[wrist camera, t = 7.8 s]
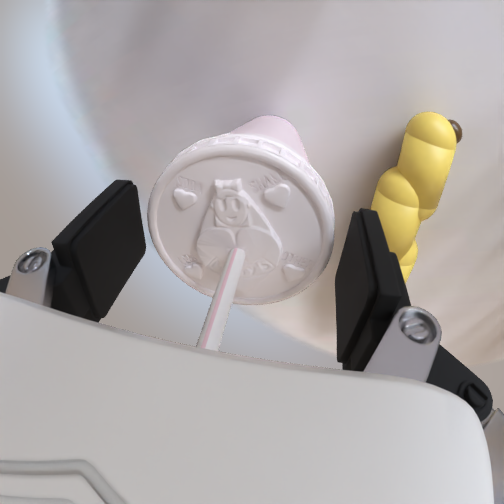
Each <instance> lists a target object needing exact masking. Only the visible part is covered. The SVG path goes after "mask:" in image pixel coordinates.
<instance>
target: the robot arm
mask: <svg viewBox="0 0 504 504" xmlns="http://www.w3.org/2000/svg"><path fill="white" fill-rule="evenodd" d="M52 245H53V248H54V250H53V251H52V252H50V251H49V250H48V249H47V248H42V247H39V248H34V249H31V250H29V251H27V252H25V253H24V254H22V255H21V256H20V257H19V258H18V259H17V260H16V262H15V264H14V267H13V270H12V273H11V275H10V276H8V277H5V278H3V279H1V280H0V504H504V414H503V413H502V412H501V410H500V409H499V408H497V409H496V410H494V409H492V403H493V400H492V396H491V392H490V390H489V388H488V387H487V386H486V384H485V383H484V382H483V381H482V380H481V379H480V378H478V377H477V376H476V375H475V374H474V373H473V372H471V371H470V370H469V369H468V368H467V367H466V366H464V365H463V364H462V363H461V362H460V361H459V360H457V359H456V358H455V357H454V356H453V355H452V354H450V353H449V352H448V351H447V350H446V349H444V348H443V347H442V346H441V345H440V344H439V343H440V340H441V335H442V331H441V327H440V325H439V323H438V321H437V319H436V318H435V317H434V316H433V315H432V314H431V313H429V312H428V311H426V310H424V309H422V308H419V307H415V306H411V304H410V300H409V296H408V292H407V289H406V285H405V281H404V278H403V274H402V271H401V268H400V264H399V261H398V258H397V255H396V253H394V252H390V251H389V247H388V244H387V241H386V237H385V234H384V231H383V228H382V225H381V222H380V218H379V215H378V212H377V211H374V210H369V209H363V208H360V209H359V212H355V211H354V212H353V214H352V218H351V222H350V225H349V229H348V233H347V237H346V241H345V244H344V248H343V252H342V255H341V259H340V262H339V266H338V269H337V273H336V277H335V295H336V324H337V361H338V362H341V363H343V370H340V369H331V368H323V367H315V366H308V365H300V364H293V363H286V362H279V361H272V360H265V359H259V358H253V357H247V356H241V355H236V354H230V353H225V352H220V351H215V350H210V349H204V348H200V347H195V346H189V345H185V344H181V343H176V342H171V341H167V340H163V339H159V338H155V337H150V336H146V335H142V334H138V333H134V332H130V331H126V330H123V329H119V328H115V327H112V326H108V325H105V324H101V323H99V321H100V319H101V318H104V317H105V316H106V315H107V313H108V311H109V309H110V308H111V306H112V305H113V303H114V301H115V300H116V298H117V296H118V295H119V293H120V292H121V290H122V288H123V287H124V285H125V284H126V282H127V280H128V279H129V277H130V276H131V274H132V273H133V271H134V269H135V268H136V266H137V265H138V263H139V262H140V260H141V259H142V257H143V256H144V254H145V251H146V243H145V237H144V231H143V225H142V218H141V212H140V205H139V198H138V190H137V187H136V185H133V182H132V181H129V180H115V181H114V182H113V183H112V184H111V185H110V186H108V187H107V188H106V189H105V190H104V191H103V192H102V193H101V194H100V195H99V196H97V197H96V198H95V199H94V200H93V201H92V202H91V203H90V204H89V205H88V206H87V207H86V208H85V209H84V210H83V211H82V212H81V213H80V214H79V215H78V216H76V217H75V219H73V221H71V222H70V223H69V225H67V226H66V228H65V229H64V230H63V231H62V232H61V233H60V234H59V235H58V236H57V237H56V238H55V239H54V240H53V241H52Z"/></svg>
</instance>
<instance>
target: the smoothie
mask: <svg viewBox="0 0 504 504" xmlns="http://www.w3.org/2000/svg"><path fill="white" fill-rule="evenodd" d="M147 218H148V227H149V232H150V236H151V239H152V241H153V244H154V246H155V248H156V250H157V252H158V254H159V255H160V257H161V259H162V260H163V261H164V263H165V264H166V265H167V266H168V268H169V269H170V270H171V271H172V272H173V273H174V274H175V275H176V276H177V277H178V278H180V279H181V280H182V281H183V282H185V283H186V284H187V285H189V286H190V287H192V288H194V289H195V290H198V291H199V292H201V293H202V294H205V295H207V296H210V297H212V298H213V299H212V302H211V305H210V308H209V311H208V313H207V317H206V319H205V322H204V325H203V328H202V331H201V334H200V337H199V339H198V342H197V345H196V347H200V348H204V349H210V350H215V351H218V350H219V347H220V343H221V340H222V336H223V333H224V329H225V326H226V322H227V319H228V315H229V312H230V309H231V305H232V303H234V304H243V305H263V304H269V303H274V302H279V301H282V300H285V299H288V298H290V297H292V296H294V295H296V294H298V293H300V292H302V291H303V290H305V289H306V288H307V287H309V286H310V285H311V284H312V283H313V282H314V281H315V280H316V279H317V278H318V277H319V276H320V275H321V273H322V272H323V270H324V269H325V267H326V266H327V264H328V261H329V259H330V256H331V254H332V250H333V245H334V227H335V217H334V209H333V201H332V199H331V197H330V195H329V192H328V190H327V188H326V186H325V184H324V181H323V179H322V178H321V177H320V176H319V174H318V173H317V172H316V171H315V170H314V169H313V168H312V166H311V165H310V163H309V160H308V158H307V155H306V152H305V149H304V147H303V144H302V141H301V139H300V136H299V134H298V132H297V130H296V129H295V127H294V126H293V125H292V124H291V123H290V122H288V121H287V120H285V119H283V118H281V117H278V116H272V115H265V116H260V117H257V118H255V119H253V120H251V121H249V122H247V123H246V124H244V125H242V126H240V127H238V128H237V129H235V130H233V131H232V132H230V133H228V134H223V135H219V136H214V137H210V138H206V139H202V140H200V141H198V142H196V143H195V144H193V145H191V146H189V147H188V148H186V149H184V150H182V151H181V152H180V153H179V154H178V155H177V156H176V157H175V158H174V159H173V160H172V161H171V163H170V164H169V165H168V166H167V167H166V168H165V171H164V172H163V173H162V174H161V176H160V177H159V178H158V180H157V182H156V183H155V185H154V187H153V190H152V192H151V195H150V199H149V203H148V213H147Z"/></svg>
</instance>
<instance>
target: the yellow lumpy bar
mask: <svg viewBox="0 0 504 504" xmlns="http://www.w3.org/2000/svg"><path fill="white" fill-rule="evenodd" d="M461 138H462V129H461V127H460V125H459V124H458V123H457V122H455V121H453V120H447V119H446V118H444V117H443V116H442V115H440V114H437V113H434V112H422V113H419V114H417V115H416V116H414V117H413V118H412V119H411V120H410V121H409V123H408V125H407V127H406V130H405V135H404V139H403V143H402V148H401V152H400V156H399V160H398V164H397V166H395V167H392V168H390V169H388V170H387V171H386V172H385V173H384V174H383V175H382V176H381V177H380V179H379V181H378V183H377V186H376V190H375V194H374V198H373V202H372V205H371V209H370V210H374V211H377V212H378V215H379V218H380V222H381V225H382V228H383V231H384V234H385V237H386V241H387V244H388V247H389V251H390V252H394V253H396V255H397V258H398V261H399V264H400V268H401V271H402V274H403V278H404V281H405V284H406V282H407V279H408V277H409V275H410V273H411V271H412V268H413V266H414V264H415V262H416V259H417V254H418V248H417V243H416V241H415V237H416V234H417V232H418V229H419V226H420V224H421V221H424V220H426V219H428V218H429V217H430V216H431V215H432V214H433V213H434V212H435V210H436V208H437V206H438V203H439V200H440V198H441V195H442V192H443V189H444V186H445V183H446V180H447V176H448V173H449V170H450V167H451V164H452V160H453V157H454V153H455V150H456V144H457V143H458V142H459V141H460V140H461Z"/></svg>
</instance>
